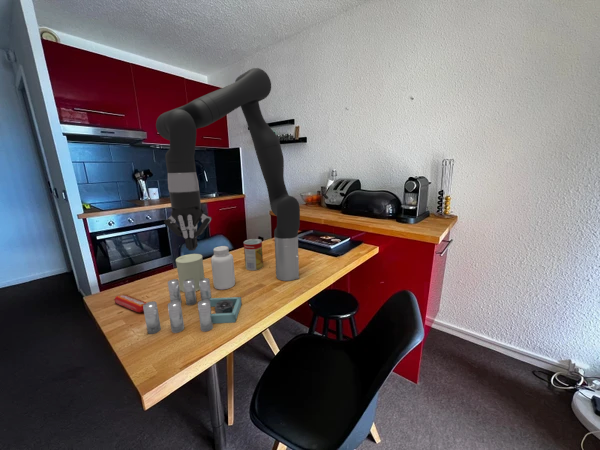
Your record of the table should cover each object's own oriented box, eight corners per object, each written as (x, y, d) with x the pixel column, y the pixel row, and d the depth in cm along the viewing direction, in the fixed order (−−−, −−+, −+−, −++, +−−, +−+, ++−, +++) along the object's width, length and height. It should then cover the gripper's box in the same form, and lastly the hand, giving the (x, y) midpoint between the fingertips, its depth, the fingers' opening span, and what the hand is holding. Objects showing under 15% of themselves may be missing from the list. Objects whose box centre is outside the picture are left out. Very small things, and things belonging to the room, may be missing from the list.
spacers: (226, 298, 85) (224, 277, 83) (210, 331, 68) (207, 305, 67) (173, 301, 85) (170, 279, 83) (145, 334, 68) (140, 307, 66)
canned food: (264, 263, 116) (263, 239, 113) (260, 270, 108) (259, 244, 105) (248, 263, 116) (246, 238, 114) (243, 270, 109) (241, 244, 106)
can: (184, 281, 99) (181, 253, 96) (208, 280, 100) (205, 252, 97) (175, 293, 90) (170, 262, 87) (201, 291, 91) (198, 260, 88)
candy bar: (152, 310, 80) (151, 301, 79) (141, 316, 77) (139, 307, 76) (124, 299, 87) (122, 291, 86) (112, 304, 84) (111, 296, 83)
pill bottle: (215, 292, 90) (211, 253, 87) (212, 283, 97) (208, 246, 93) (237, 287, 94) (234, 249, 90) (232, 278, 100) (229, 243, 97)
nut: (234, 307, 80) (233, 298, 80) (232, 317, 75) (231, 308, 74) (218, 308, 80) (217, 300, 79) (214, 319, 74) (213, 310, 73)
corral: (241, 303, 82) (241, 297, 81) (235, 322, 72) (234, 314, 72) (210, 305, 82) (210, 298, 81) (200, 323, 72) (199, 316, 71)
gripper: (212, 187, 72) (218, 244, 76) (166, 189, 71) (174, 246, 75) (204, 190, 65) (211, 253, 69) (152, 191, 64) (162, 255, 68)
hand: (192, 249), depth 72 cm, fingers closed
